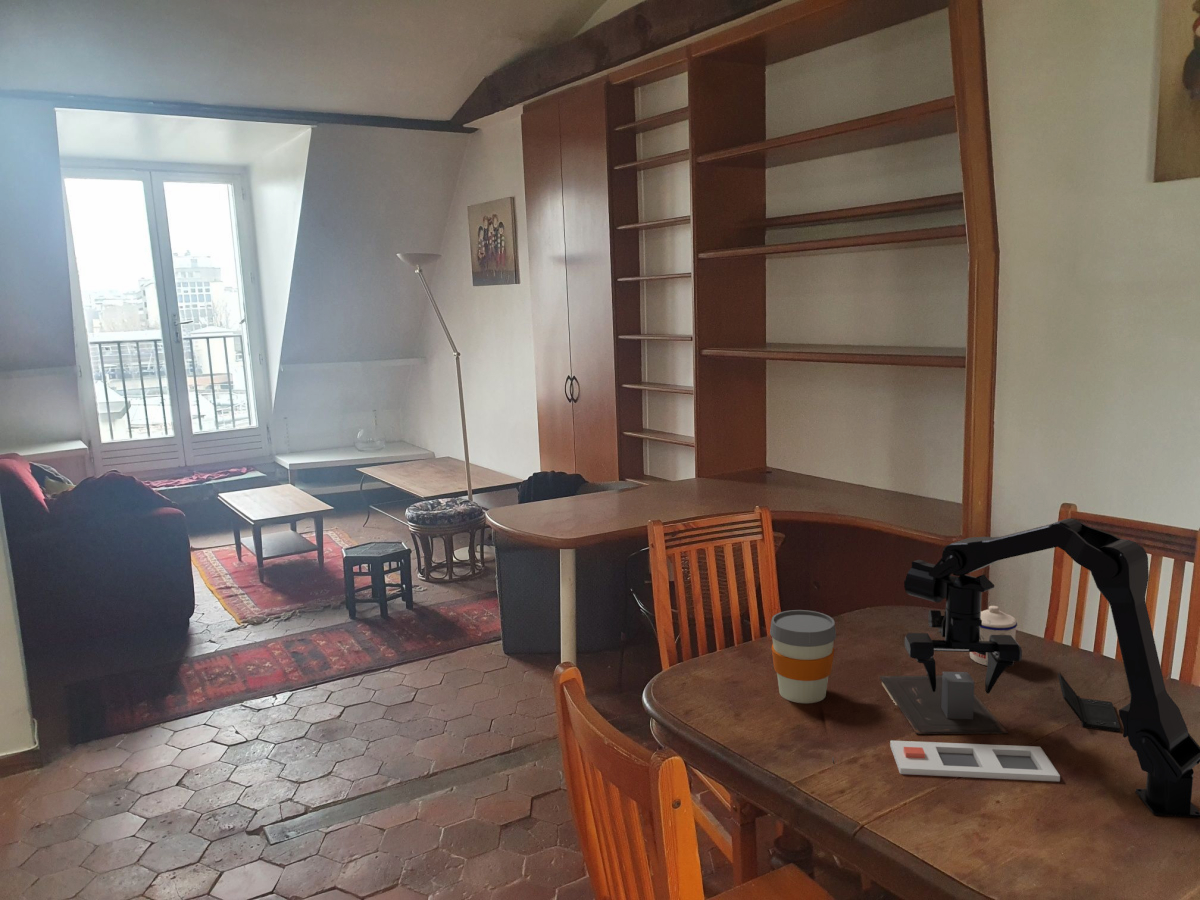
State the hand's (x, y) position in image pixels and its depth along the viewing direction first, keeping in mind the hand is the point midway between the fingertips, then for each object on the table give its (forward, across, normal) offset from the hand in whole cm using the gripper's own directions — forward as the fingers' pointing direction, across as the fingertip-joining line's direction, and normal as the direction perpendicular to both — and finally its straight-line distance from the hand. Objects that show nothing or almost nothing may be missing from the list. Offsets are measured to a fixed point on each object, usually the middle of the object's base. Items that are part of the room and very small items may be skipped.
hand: (960, 691), depth 156 cm
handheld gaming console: (+6, -24, -5) cm, 25 cm away
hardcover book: (+7, +2, -5) cm, 9 cm away
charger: (+4, 0, 0) cm, 4 cm away
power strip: (+6, +7, +16) cm, 18 cm away
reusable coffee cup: (+6, +27, -10) cm, 29 cm away
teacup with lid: (+6, -14, -28) cm, 32 cm away
